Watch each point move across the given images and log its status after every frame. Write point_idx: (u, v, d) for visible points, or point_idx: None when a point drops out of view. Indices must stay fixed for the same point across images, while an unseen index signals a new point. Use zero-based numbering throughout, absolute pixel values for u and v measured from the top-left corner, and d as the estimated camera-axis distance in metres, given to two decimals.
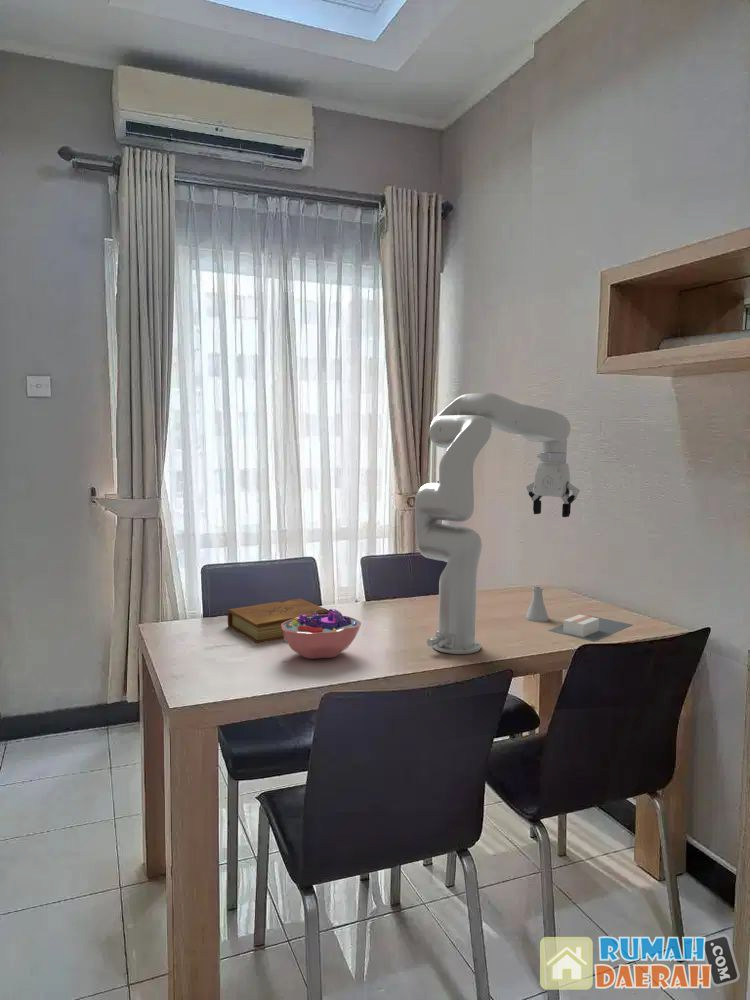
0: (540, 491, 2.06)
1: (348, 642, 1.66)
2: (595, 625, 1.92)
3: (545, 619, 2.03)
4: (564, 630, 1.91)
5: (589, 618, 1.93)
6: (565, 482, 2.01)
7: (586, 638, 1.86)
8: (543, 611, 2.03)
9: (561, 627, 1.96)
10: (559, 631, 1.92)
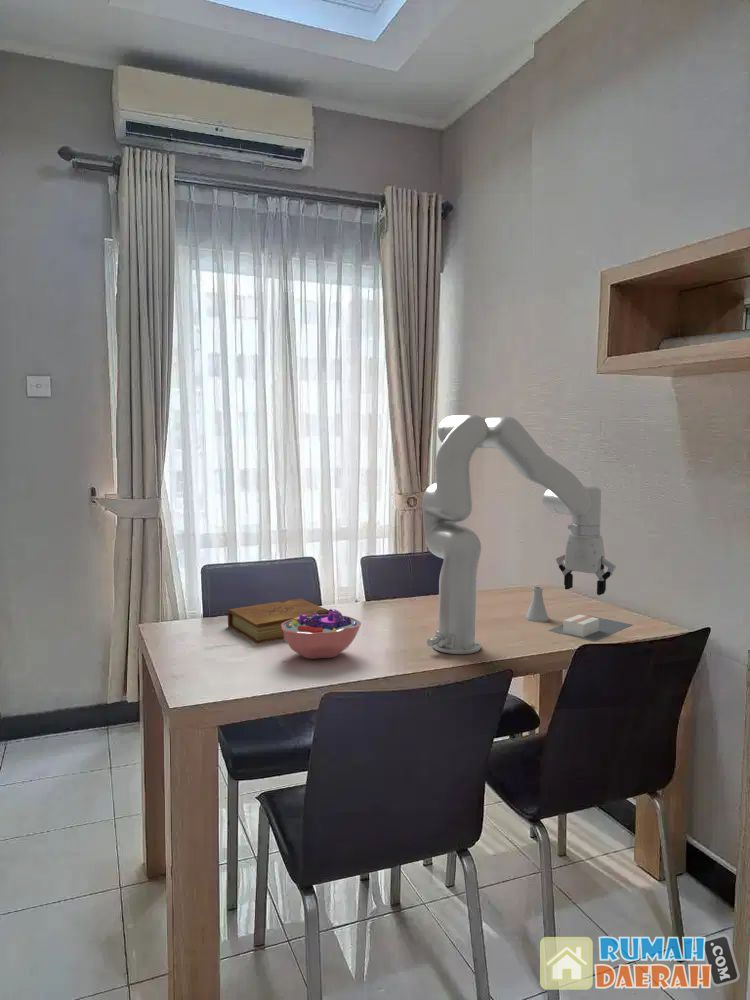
0: (572, 566, 1.90)
1: (348, 642, 1.66)
2: (595, 625, 1.92)
3: (545, 619, 2.03)
4: (564, 630, 1.91)
5: (589, 618, 1.93)
6: (600, 557, 1.86)
7: (586, 638, 1.86)
8: (543, 611, 2.03)
9: (561, 627, 1.96)
10: (559, 631, 1.92)
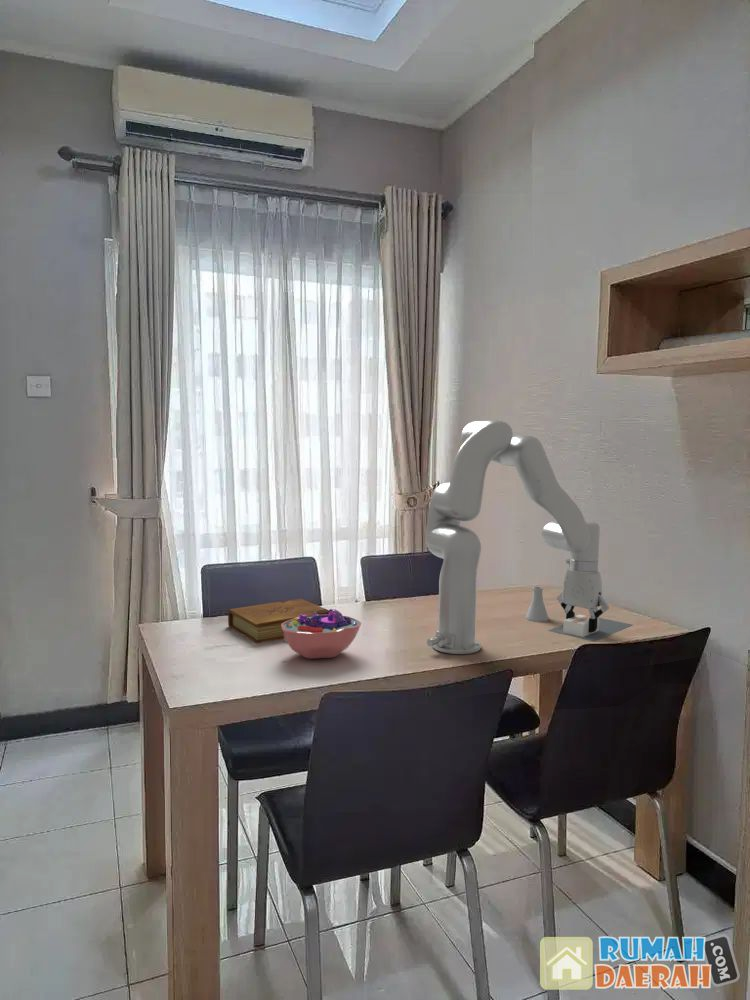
0: (569, 600, 1.91)
1: (348, 642, 1.66)
2: None
3: (545, 619, 2.03)
4: (564, 630, 1.91)
5: None
6: (597, 593, 1.87)
7: (586, 638, 1.86)
8: (543, 611, 2.03)
9: (561, 627, 1.96)
10: (559, 631, 1.92)
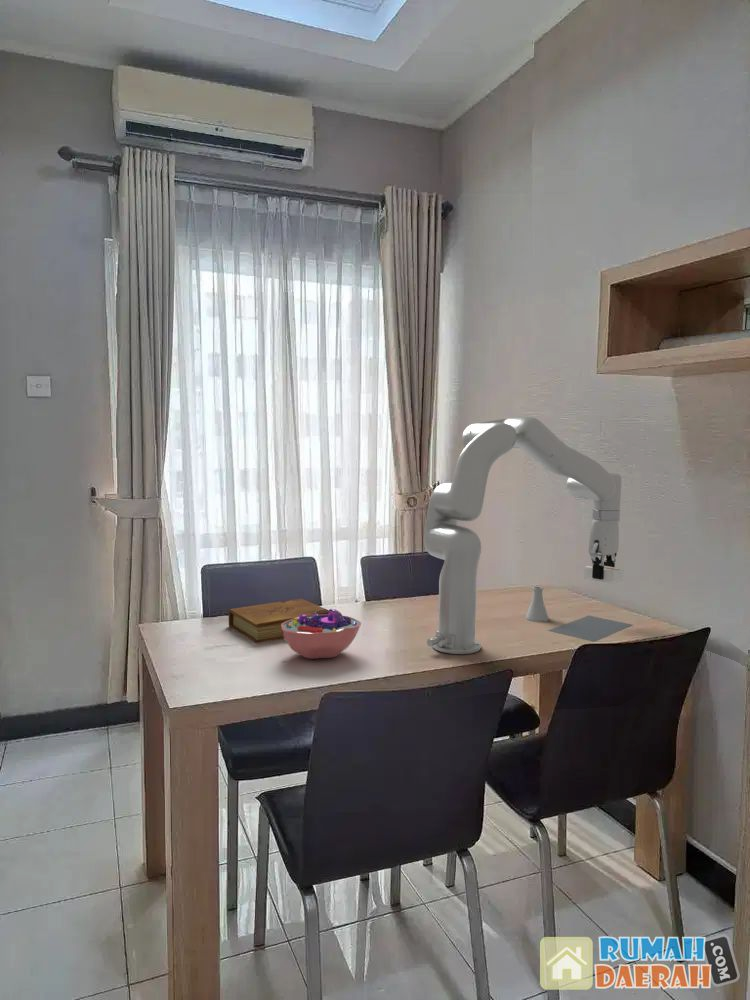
0: None
1: (348, 642, 1.66)
2: (606, 575, 1.95)
3: (545, 619, 2.03)
4: None
5: (610, 569, 1.96)
6: (592, 540, 1.96)
7: (586, 638, 1.86)
8: (543, 611, 2.03)
9: (561, 627, 1.96)
10: (559, 631, 1.92)
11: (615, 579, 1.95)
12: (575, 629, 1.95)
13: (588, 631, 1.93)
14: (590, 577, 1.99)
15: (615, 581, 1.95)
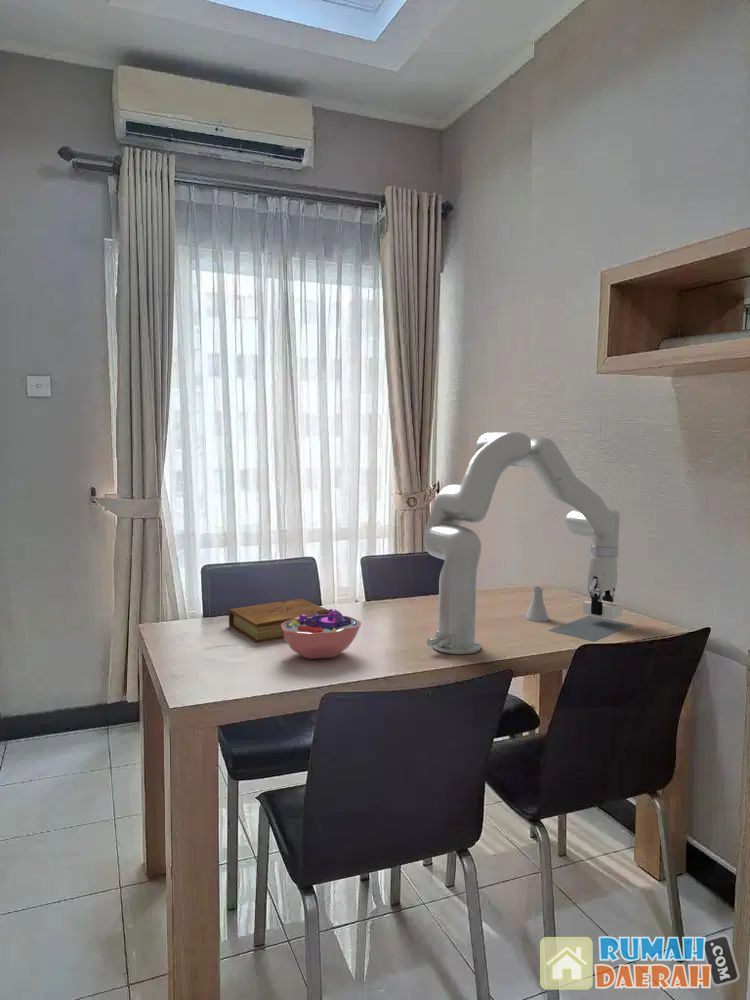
0: None
1: (348, 642, 1.66)
2: (605, 611, 1.96)
3: (545, 619, 2.03)
4: None
5: (608, 605, 1.98)
6: (591, 576, 1.97)
7: (586, 638, 1.86)
8: (543, 611, 2.03)
9: (561, 627, 1.96)
10: (559, 631, 1.92)
11: (614, 615, 1.96)
12: (575, 629, 1.95)
13: (588, 631, 1.93)
14: (589, 612, 2.00)
15: (614, 617, 1.96)
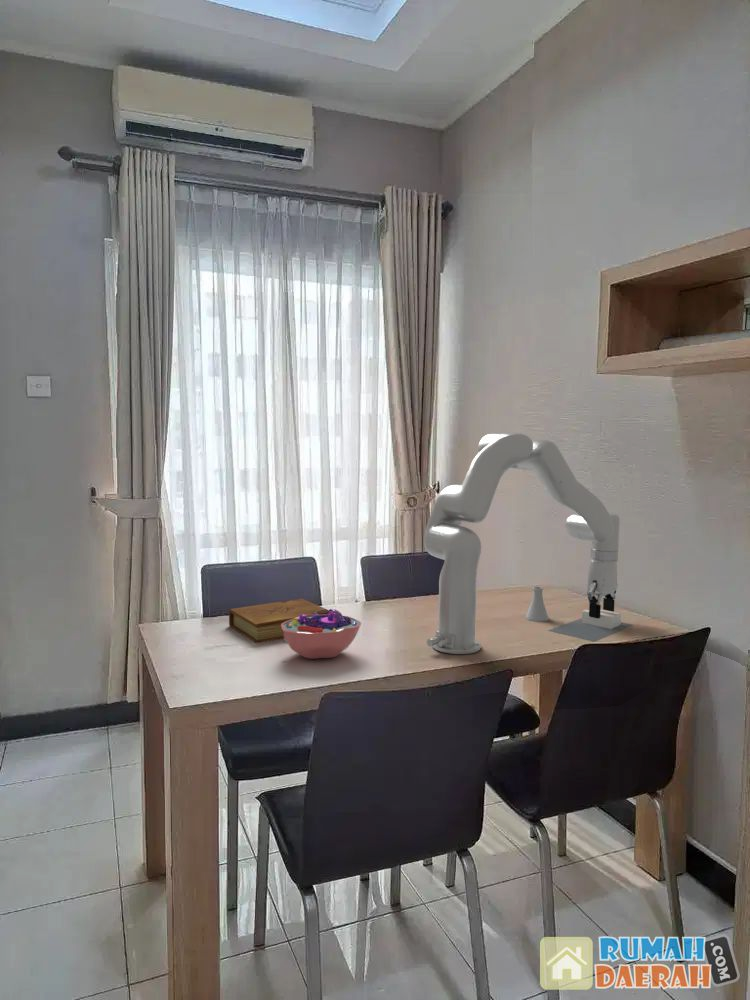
0: None
1: (348, 642, 1.66)
2: (604, 620, 1.97)
3: (545, 619, 2.03)
4: None
5: (607, 614, 1.98)
6: (590, 580, 1.97)
7: (586, 638, 1.86)
8: (543, 611, 2.03)
9: (561, 627, 1.96)
10: (559, 631, 1.92)
11: (613, 624, 1.96)
12: (575, 629, 1.95)
13: (588, 631, 1.93)
14: (588, 621, 2.00)
15: (613, 626, 1.96)
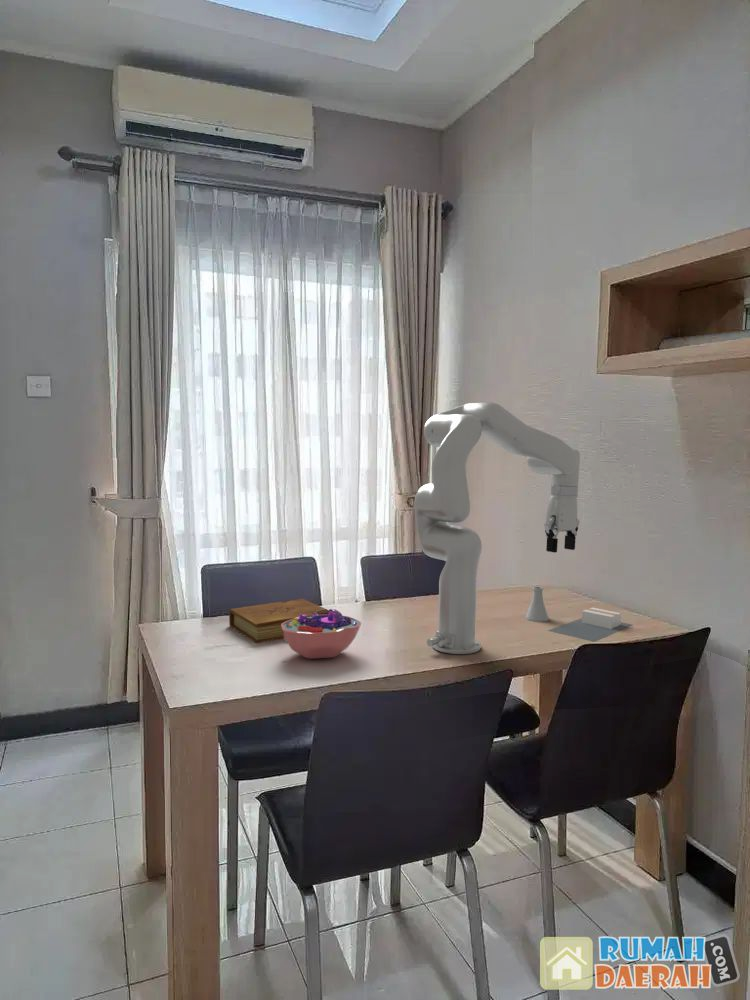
0: None
1: (348, 642, 1.66)
2: (604, 620, 1.97)
3: (545, 619, 2.03)
4: None
5: (607, 614, 1.98)
6: (549, 515, 1.96)
7: (586, 638, 1.86)
8: (543, 611, 2.03)
9: (561, 627, 1.96)
10: (559, 631, 1.92)
11: (613, 624, 1.96)
12: (575, 629, 1.95)
13: (588, 631, 1.93)
14: (588, 621, 2.00)
15: (613, 626, 1.96)
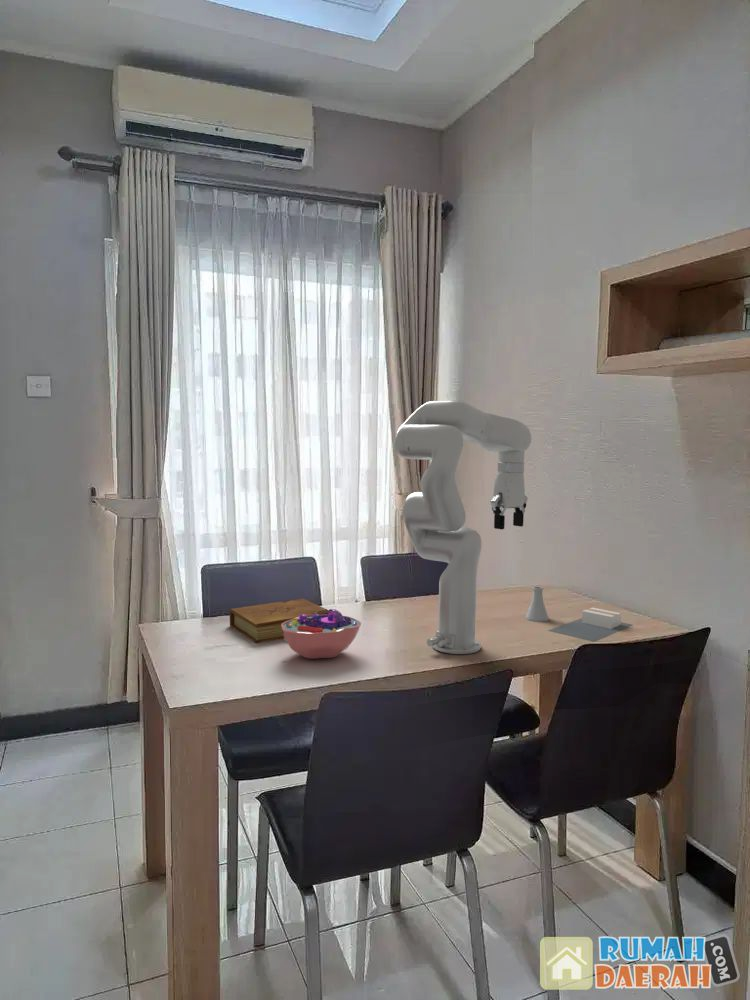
0: None
1: (348, 642, 1.66)
2: (604, 620, 1.97)
3: (545, 619, 2.03)
4: None
5: (607, 614, 1.98)
6: (496, 492, 1.96)
7: (586, 638, 1.86)
8: (543, 611, 2.03)
9: (561, 627, 1.96)
10: (559, 631, 1.92)
11: (613, 624, 1.96)
12: (575, 629, 1.95)
13: (588, 631, 1.93)
14: (588, 621, 2.00)
15: (613, 626, 1.96)
